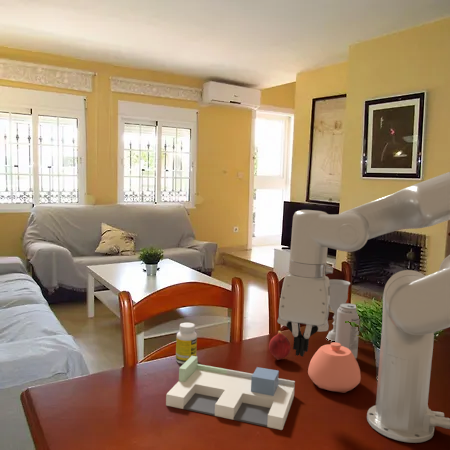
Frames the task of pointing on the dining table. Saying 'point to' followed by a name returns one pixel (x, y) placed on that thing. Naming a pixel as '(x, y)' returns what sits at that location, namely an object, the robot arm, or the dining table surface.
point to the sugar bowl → (334, 368)
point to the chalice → (337, 301)
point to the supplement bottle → (186, 342)
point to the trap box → (229, 395)
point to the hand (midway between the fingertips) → (300, 353)
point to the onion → (279, 346)
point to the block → (264, 381)
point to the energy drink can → (347, 327)
